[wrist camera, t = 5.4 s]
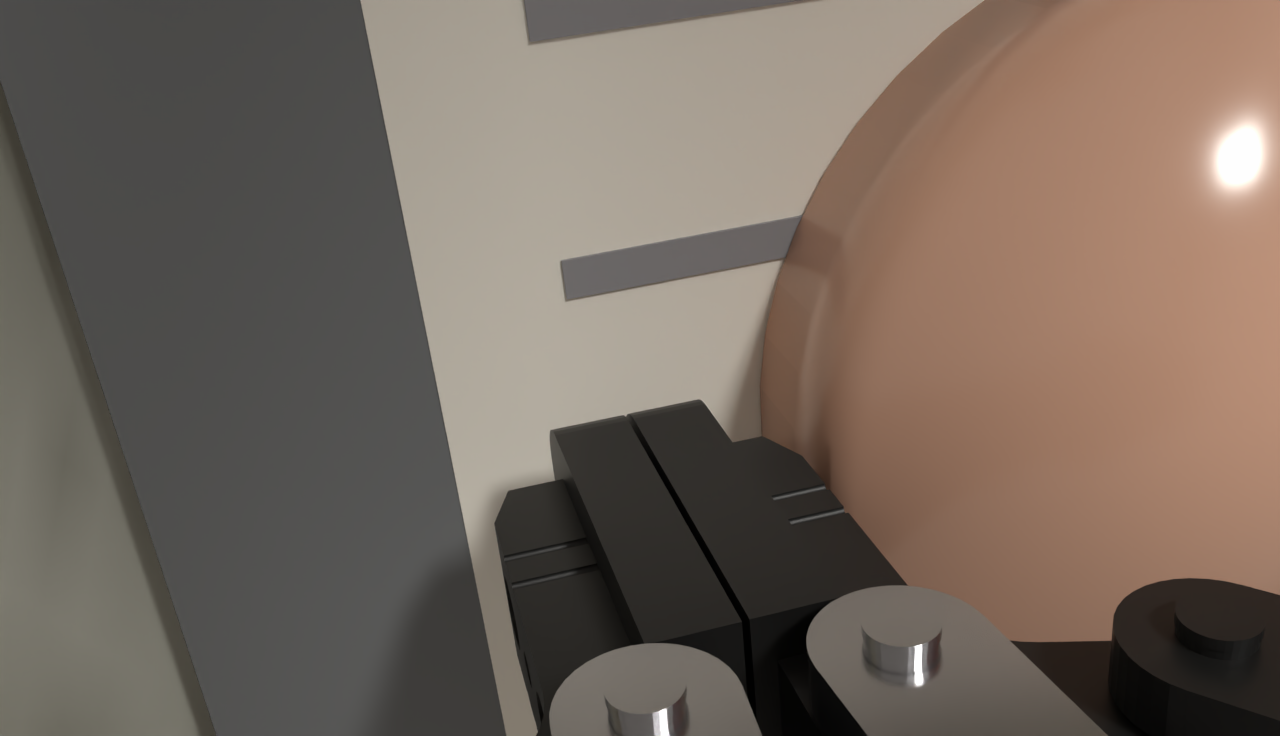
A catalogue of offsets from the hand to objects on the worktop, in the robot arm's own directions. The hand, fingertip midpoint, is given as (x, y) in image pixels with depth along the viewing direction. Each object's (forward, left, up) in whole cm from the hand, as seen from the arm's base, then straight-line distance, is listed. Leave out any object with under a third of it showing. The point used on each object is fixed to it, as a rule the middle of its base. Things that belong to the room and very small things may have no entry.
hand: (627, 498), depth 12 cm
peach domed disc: (0, +6, -1) cm, 6 cm away
